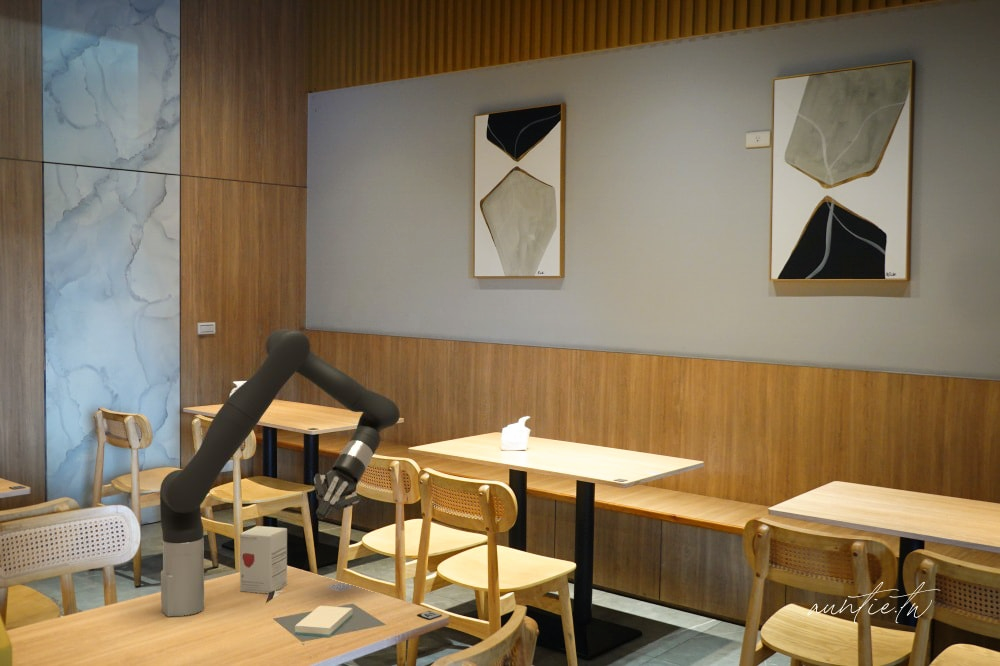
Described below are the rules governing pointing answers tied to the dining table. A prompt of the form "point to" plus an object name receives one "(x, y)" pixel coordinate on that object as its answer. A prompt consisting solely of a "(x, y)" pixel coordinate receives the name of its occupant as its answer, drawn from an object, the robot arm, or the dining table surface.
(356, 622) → the mat
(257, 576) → the supplement box
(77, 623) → the dining table surface
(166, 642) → the dining table surface
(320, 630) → the tile
